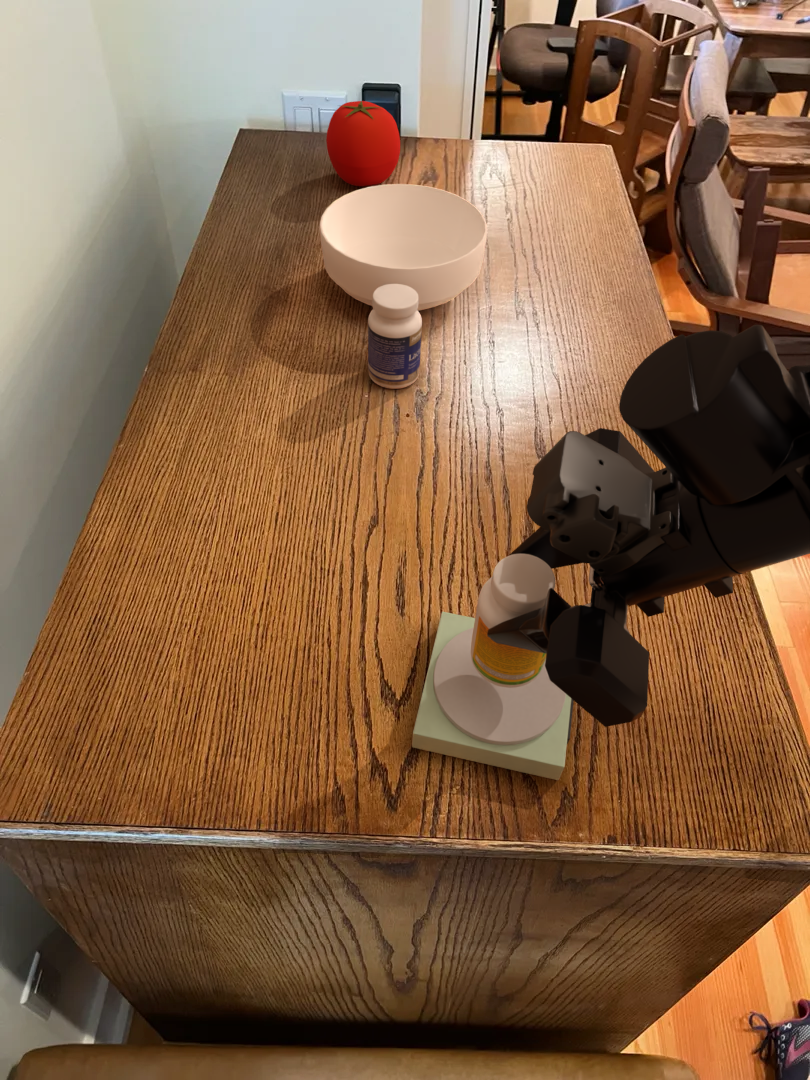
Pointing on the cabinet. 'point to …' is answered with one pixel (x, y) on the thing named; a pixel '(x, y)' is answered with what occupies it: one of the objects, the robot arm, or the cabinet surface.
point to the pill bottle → (394, 336)
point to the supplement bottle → (503, 598)
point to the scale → (489, 711)
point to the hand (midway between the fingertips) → (498, 601)
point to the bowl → (403, 242)
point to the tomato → (363, 143)
